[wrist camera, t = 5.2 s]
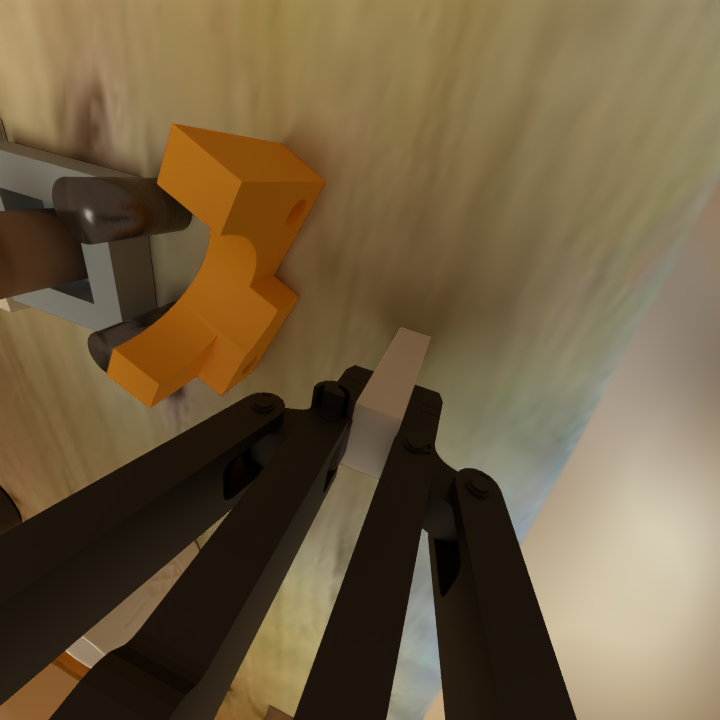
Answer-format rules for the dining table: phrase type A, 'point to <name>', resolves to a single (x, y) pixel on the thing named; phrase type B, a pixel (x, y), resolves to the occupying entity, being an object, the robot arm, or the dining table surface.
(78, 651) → the white cup
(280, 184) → the pipe clamp
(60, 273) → the dowel
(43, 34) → the dining table surface
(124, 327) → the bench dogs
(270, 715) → the tool caddy
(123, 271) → the jig block
